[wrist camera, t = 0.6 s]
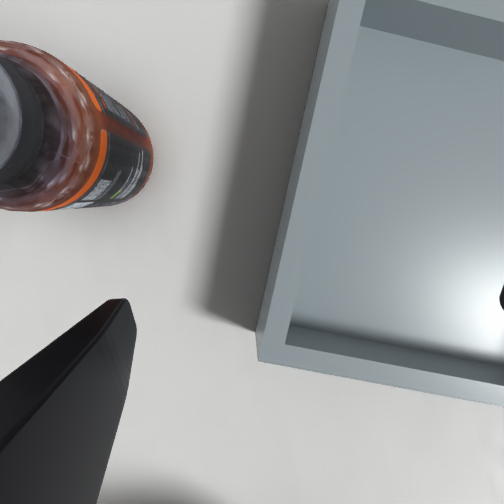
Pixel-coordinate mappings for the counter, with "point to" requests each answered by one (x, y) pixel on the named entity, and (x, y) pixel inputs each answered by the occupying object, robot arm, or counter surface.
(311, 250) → the gray square tray
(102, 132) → the supplement bottle
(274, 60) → the counter surface
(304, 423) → the counter surface
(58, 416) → the robot arm
